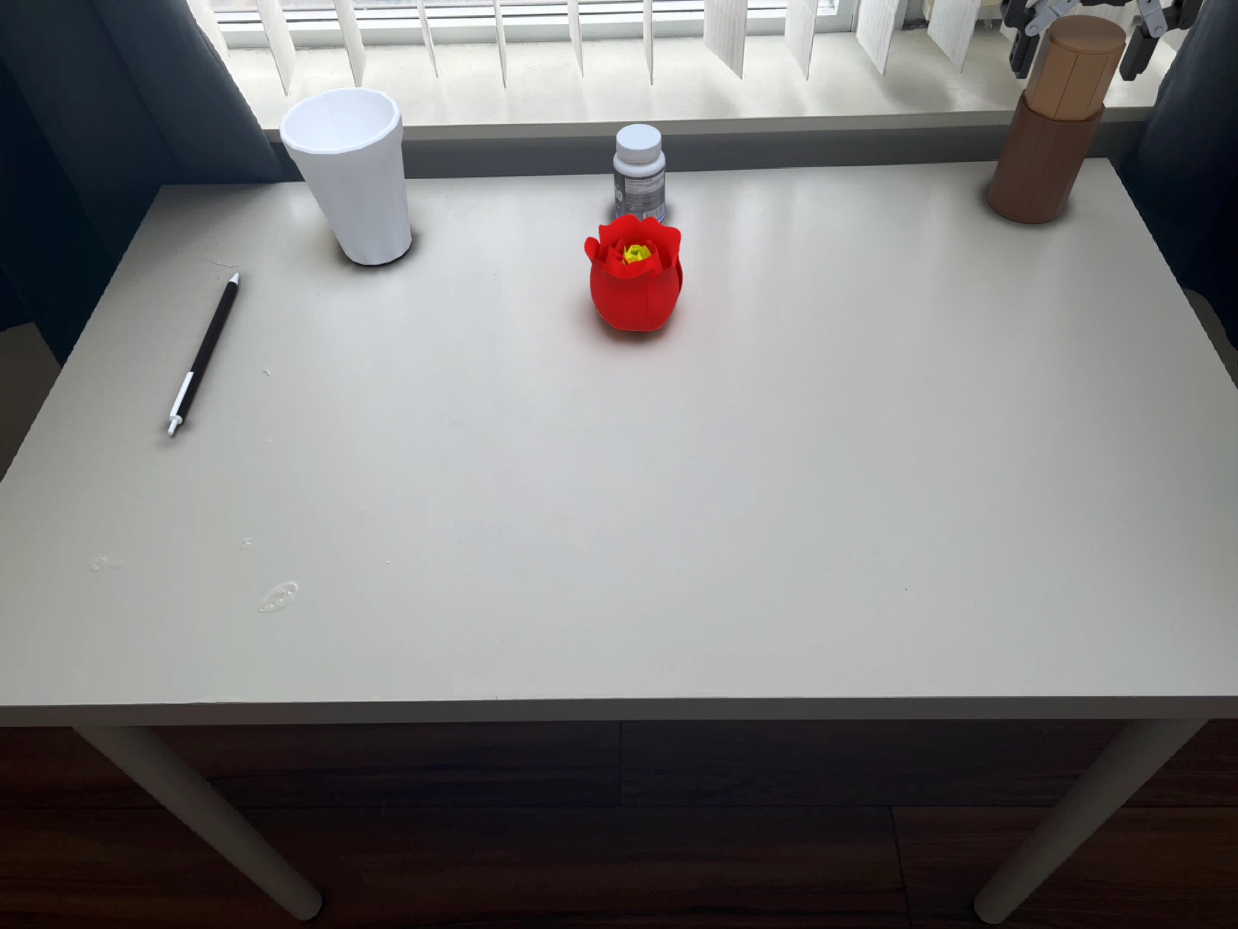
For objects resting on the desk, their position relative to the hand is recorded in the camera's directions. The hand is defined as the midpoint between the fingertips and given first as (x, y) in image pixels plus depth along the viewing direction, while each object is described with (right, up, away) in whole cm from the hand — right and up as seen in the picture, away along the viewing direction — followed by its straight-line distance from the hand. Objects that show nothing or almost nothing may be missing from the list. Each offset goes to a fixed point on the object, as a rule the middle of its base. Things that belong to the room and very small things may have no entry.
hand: (1072, 75), depth 75 cm
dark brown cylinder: (0, -8, +10) cm, 12 cm away
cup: (-60, -12, +9) cm, 62 cm away
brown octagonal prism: (0, -1, +2) cm, 2 cm away
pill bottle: (-36, -9, +11) cm, 38 cm away
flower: (-36, -20, +2) cm, 41 cm away
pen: (-72, -23, +1) cm, 76 cm away
